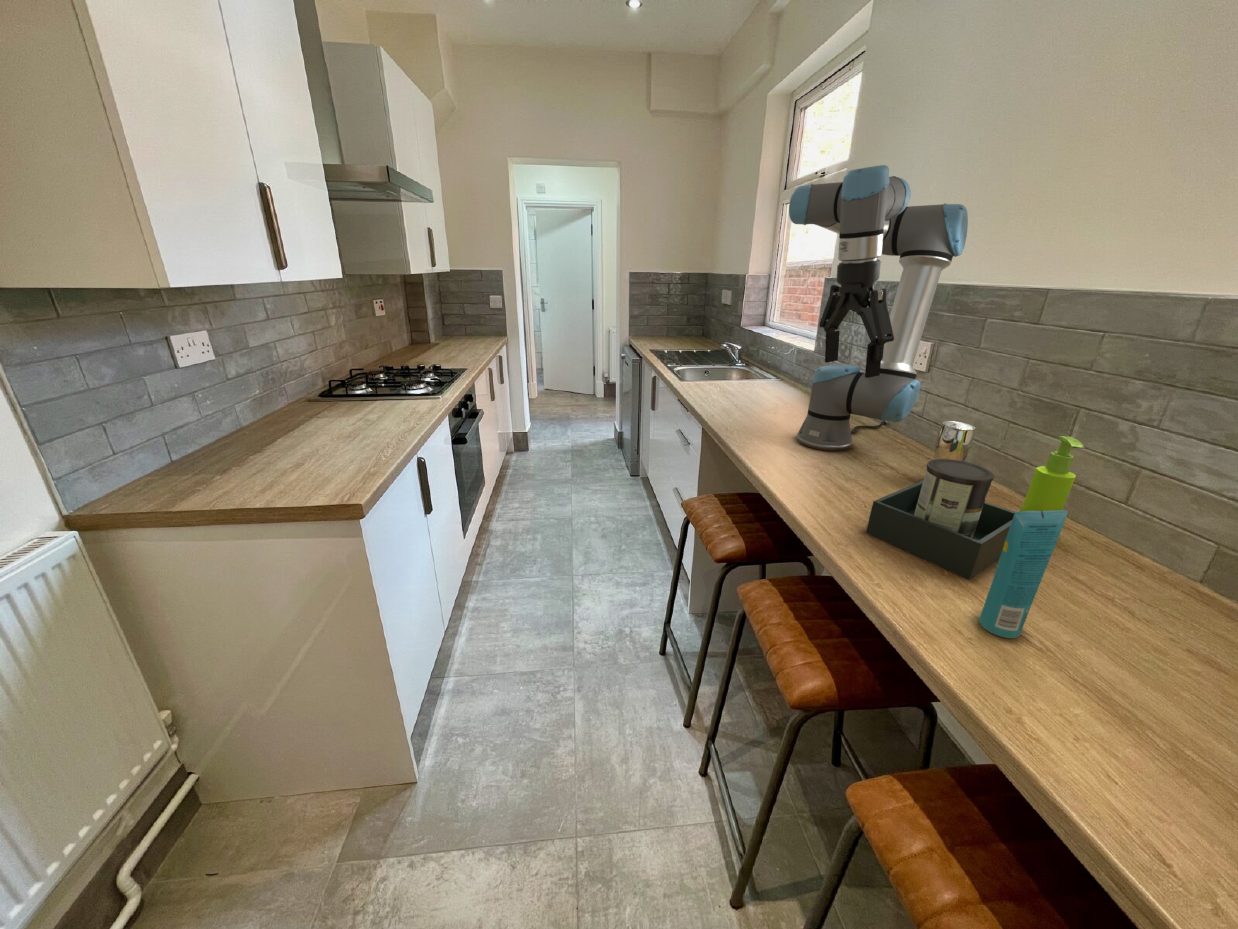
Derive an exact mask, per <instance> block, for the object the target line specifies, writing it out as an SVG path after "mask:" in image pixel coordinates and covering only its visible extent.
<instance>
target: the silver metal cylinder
mask: <svg viewBox="0 0 1238 929" xmlns="http://www.w3.org/2000/svg"><path fill="white" fill-rule="evenodd" d="M975 431H976V426H974V425H973V424H970V423H966V422H961V421H955V420H945V421H943V422H942V424H941V427H940V428H939V432H938V435H937V438H936V441H935V447H934V457H933V458H934V459H951V460H958V461H964V462H965V460H966V458H967V457H968V454H969V453H970V450H971V448H972V445H973V441H974V436H975ZM934 459H933V460H934Z"/></svg>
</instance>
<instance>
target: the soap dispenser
mask: <svg viewBox="0 0 1238 929" xmlns="http://www.w3.org/2000/svg"><path fill="white" fill-rule="evenodd" d="M1058 440H1059V441H1060V444H1059V445H1058V446H1059V447H1058V449H1057V450H1055V451H1051V452H1050V453H1049V457H1048V458H1047V461H1046V463H1045V464H1046V465H1039V466H1037V467H1036V468H1035V470H1034V473H1033V476H1032V478H1031V482H1030V484H1029V487H1028V490H1027V492H1026V495H1025V498H1024V500H1023V503H1022V505H1021V508H1020V511H1058V510H1059V511H1062V510H1064V507H1065V504H1066V502H1067V499H1068V497H1069V495H1070V492H1071V490H1072V487H1073V485H1074V483H1075V480H1076V477H1077V476H1076V474H1075V473H1074V472H1072V471H1070V469H1071V466H1072V464H1073V461H1074V459H1075V456H1074V455H1072V454H1071V451H1072V449H1080V450H1083V449H1085V445H1084V444H1083V442H1081V441H1080V440H1078V439H1077V438H1076V437H1075V438H1074V437H1072V436H1064V435H1058Z"/></svg>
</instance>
